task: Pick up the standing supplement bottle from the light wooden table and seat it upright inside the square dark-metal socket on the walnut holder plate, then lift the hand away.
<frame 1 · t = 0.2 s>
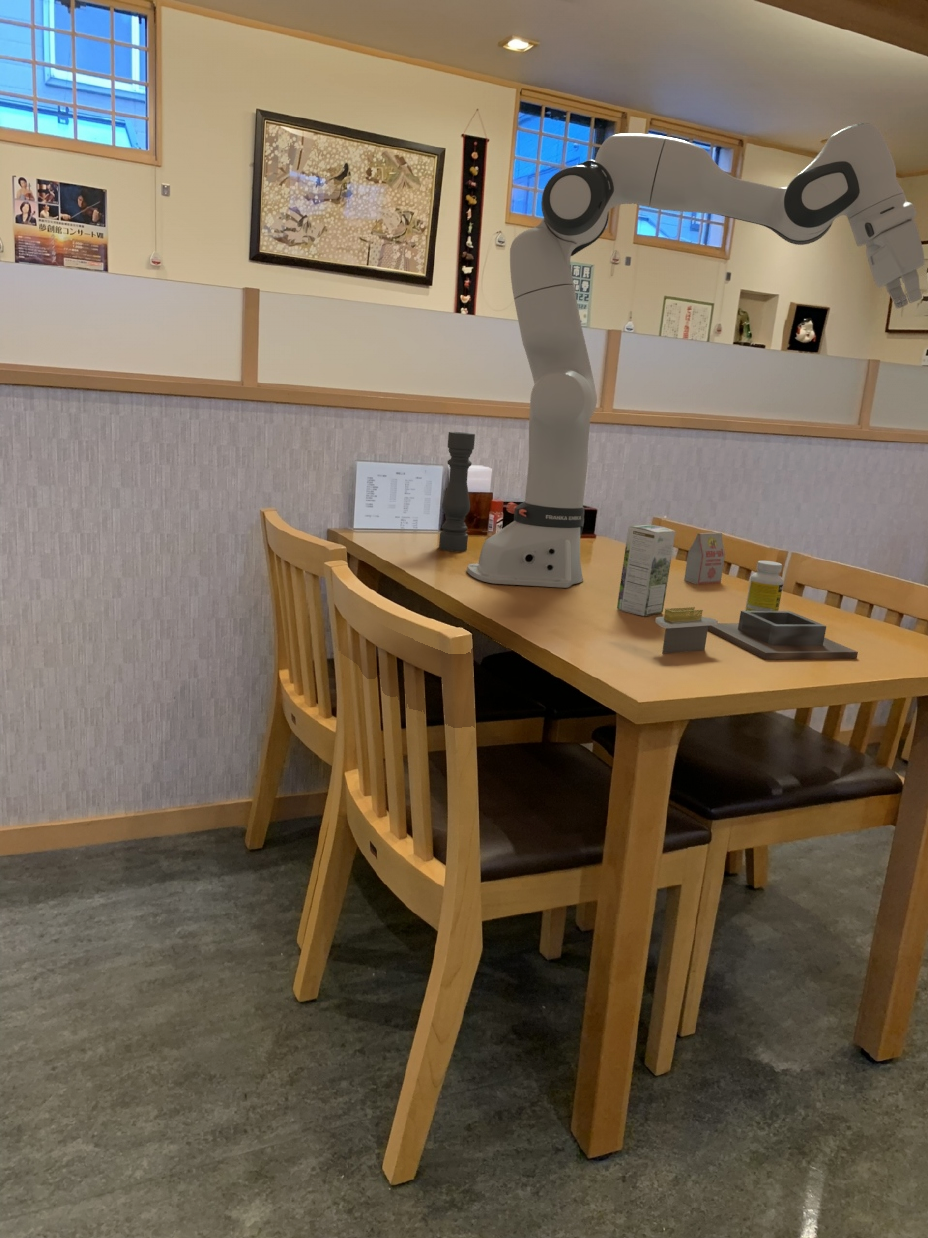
hand: (909, 304, 150), 54 cm above the table, tool tilted 30°, fingers open, 8 cm apart
syrup box: (640, 612, 152), on the table
supplement bottle: (760, 619, 154), on the table
dark gray baluster: (452, 549, 197), on the table
tea bag: (702, 582, 183), on the table
platform: (679, 654, 130), on the table
socket holder: (778, 643, 138), on the table
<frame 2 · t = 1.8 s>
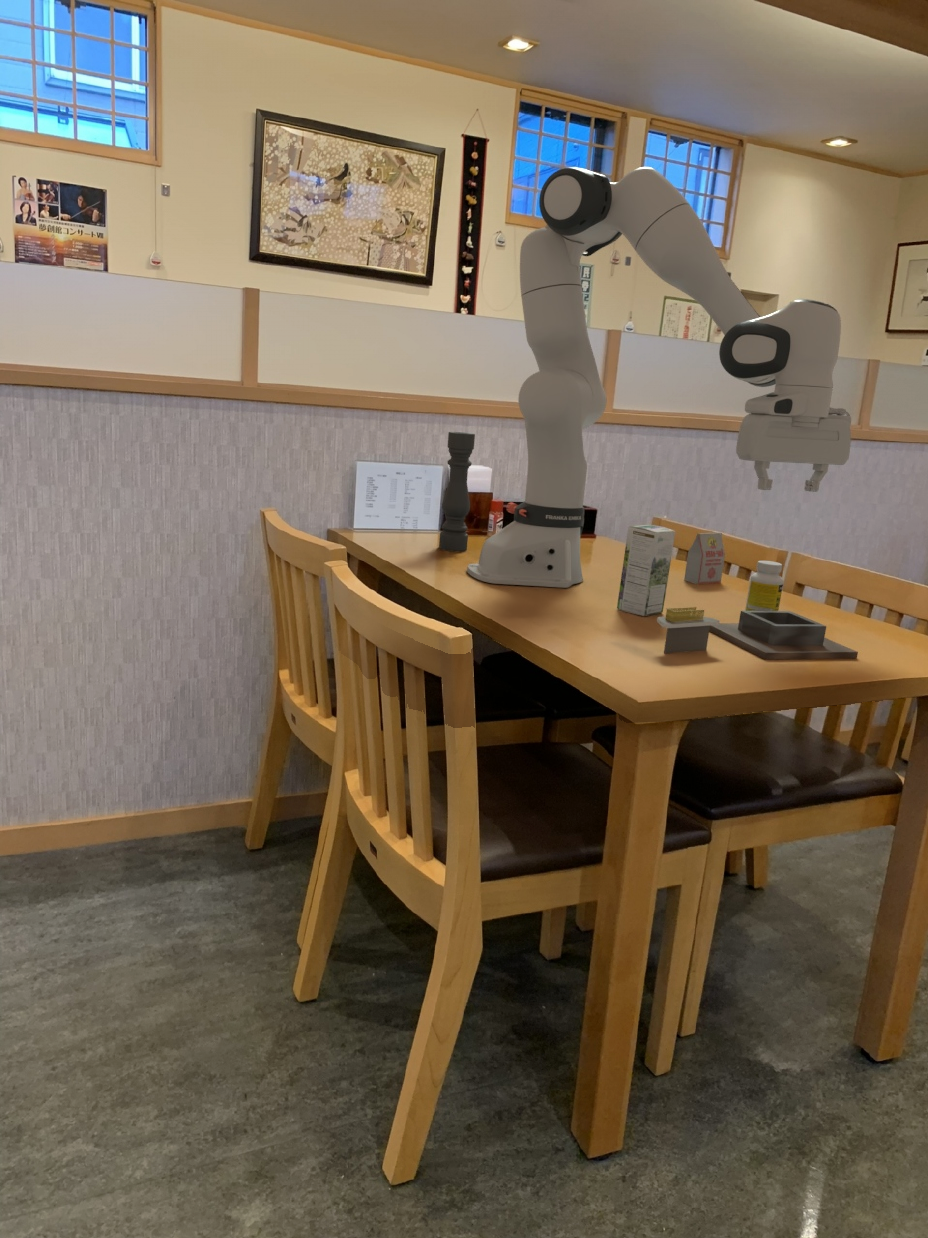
hand: (787, 490, 149), 22 cm above the table, tool pointing down, fingers open, 8 cm apart
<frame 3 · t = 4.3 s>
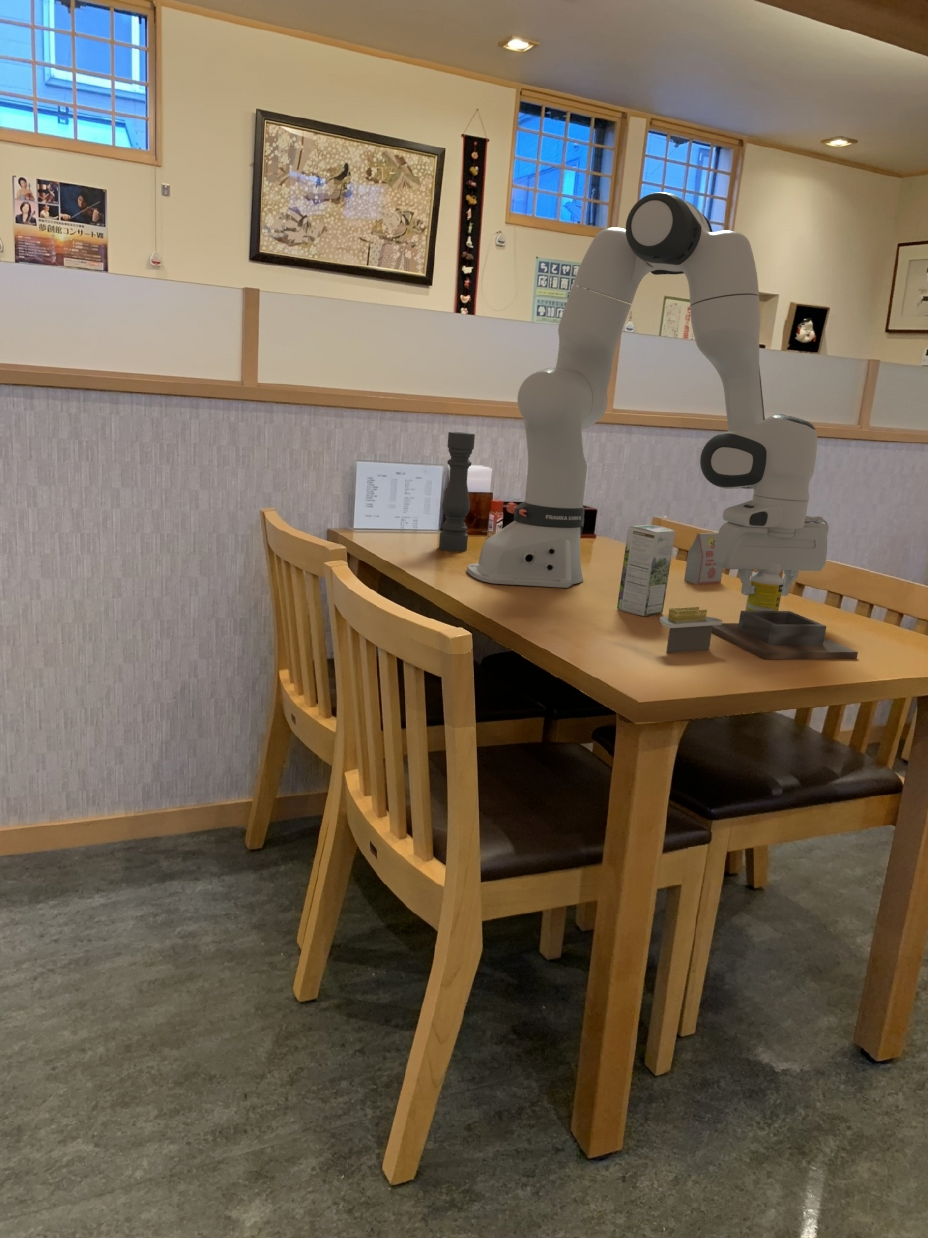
hand: (764, 594, 153), 4 cm above the table, tool pointing down, fingers closed on supplement bottle, 5 cm apart
supplement bottle: (760, 619, 154), on the table, touching gripper
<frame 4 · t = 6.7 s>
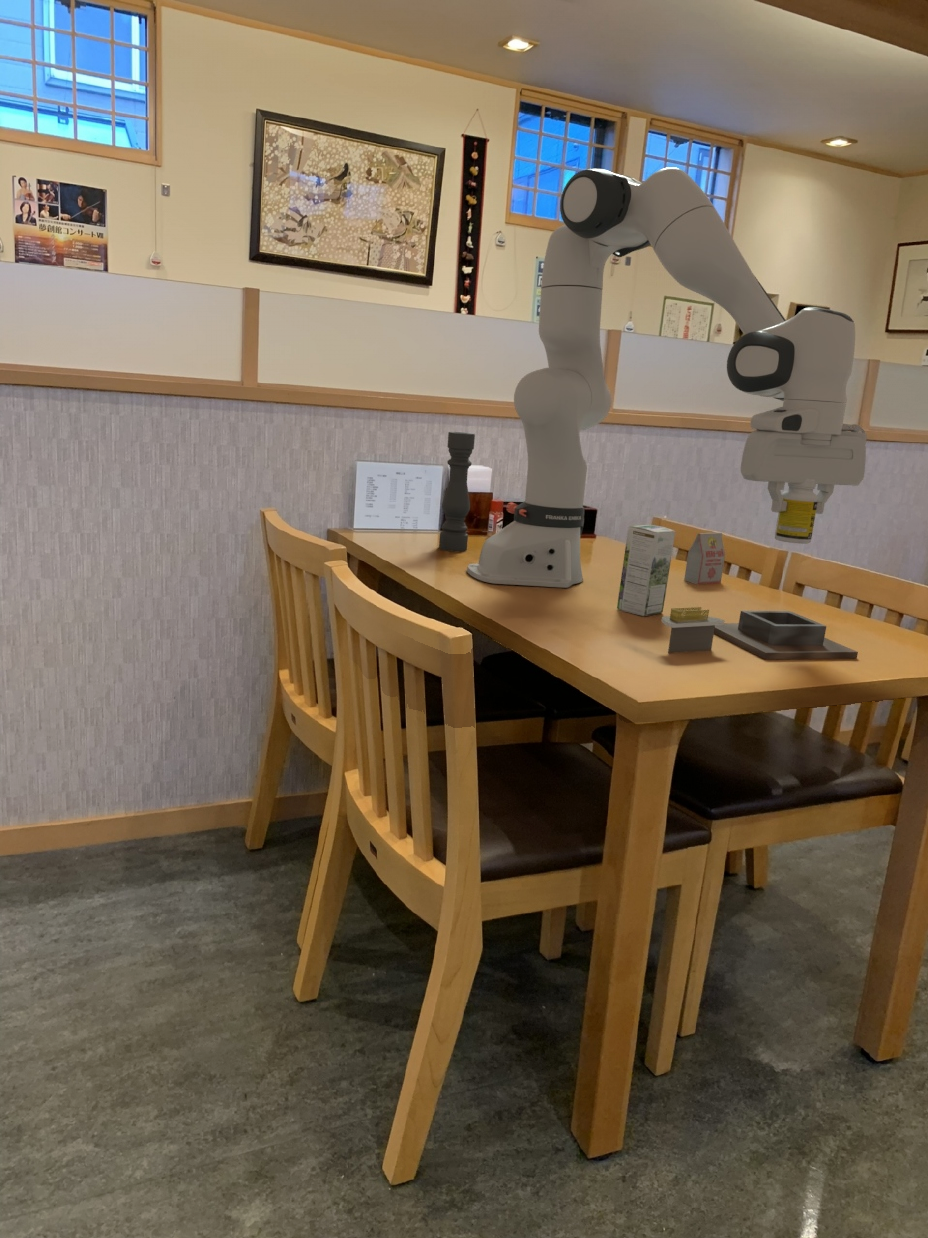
hand: (796, 512, 138), 20 cm above the table, tool pointing down, fingers closed on supplement bottle, 5 cm apart
supplement bottle: (792, 542, 139), point 15 cm above the table, touching gripper
platform: (685, 653, 131), on the table, touching socket holder
everything else where it was.
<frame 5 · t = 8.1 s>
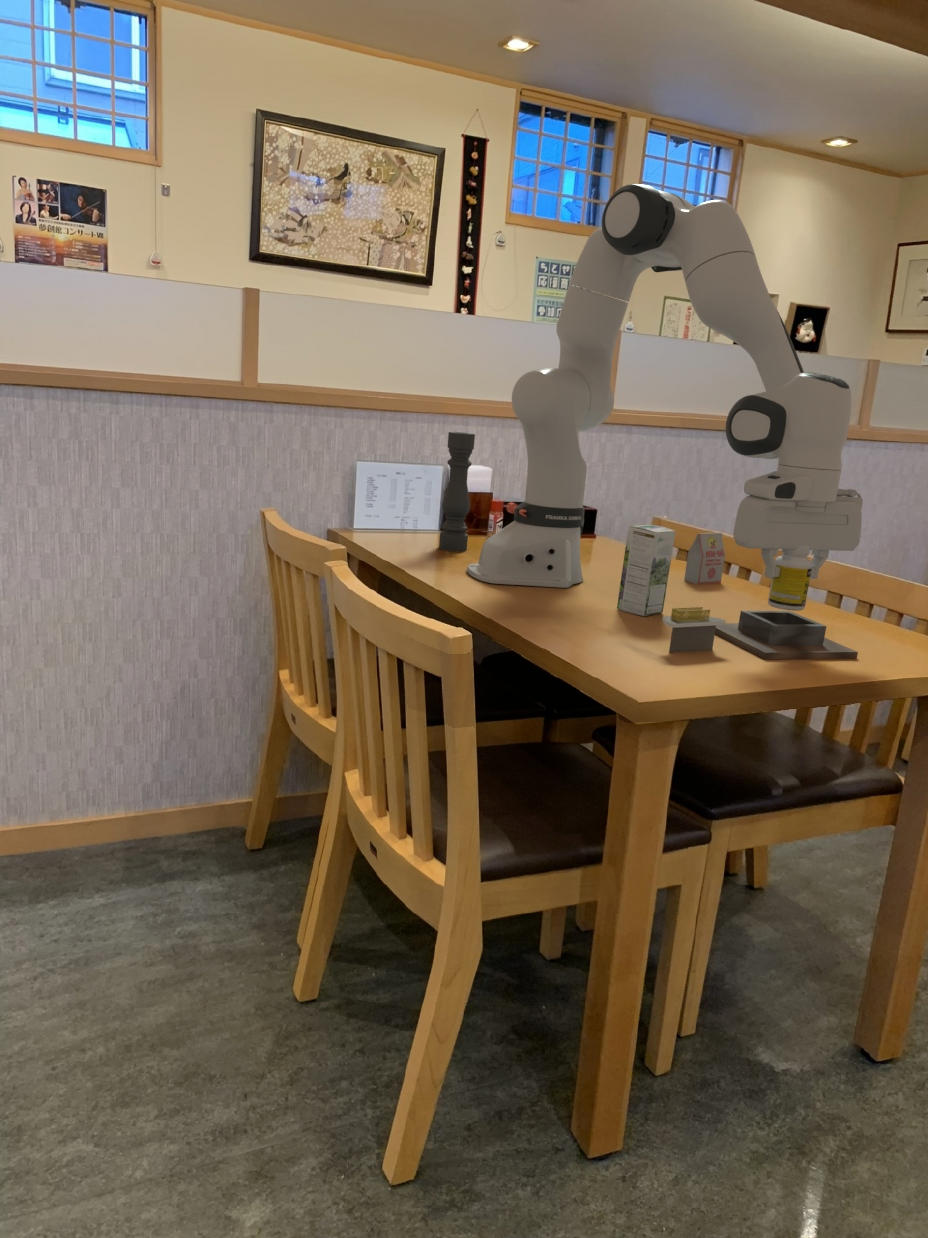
hand: (790, 578, 136), 10 cm above the table, tool pointing down, fingers closed on supplement bottle, 5 cm apart
supplement bottle: (785, 608, 137), point 6 cm above the table, touching gripper
platform: (686, 653, 131), on the table
everything else where it was.
when the fingers open (6 cm above the table, at t = 9.3 s): supplement bottle stays where it is, resting on socket holder.
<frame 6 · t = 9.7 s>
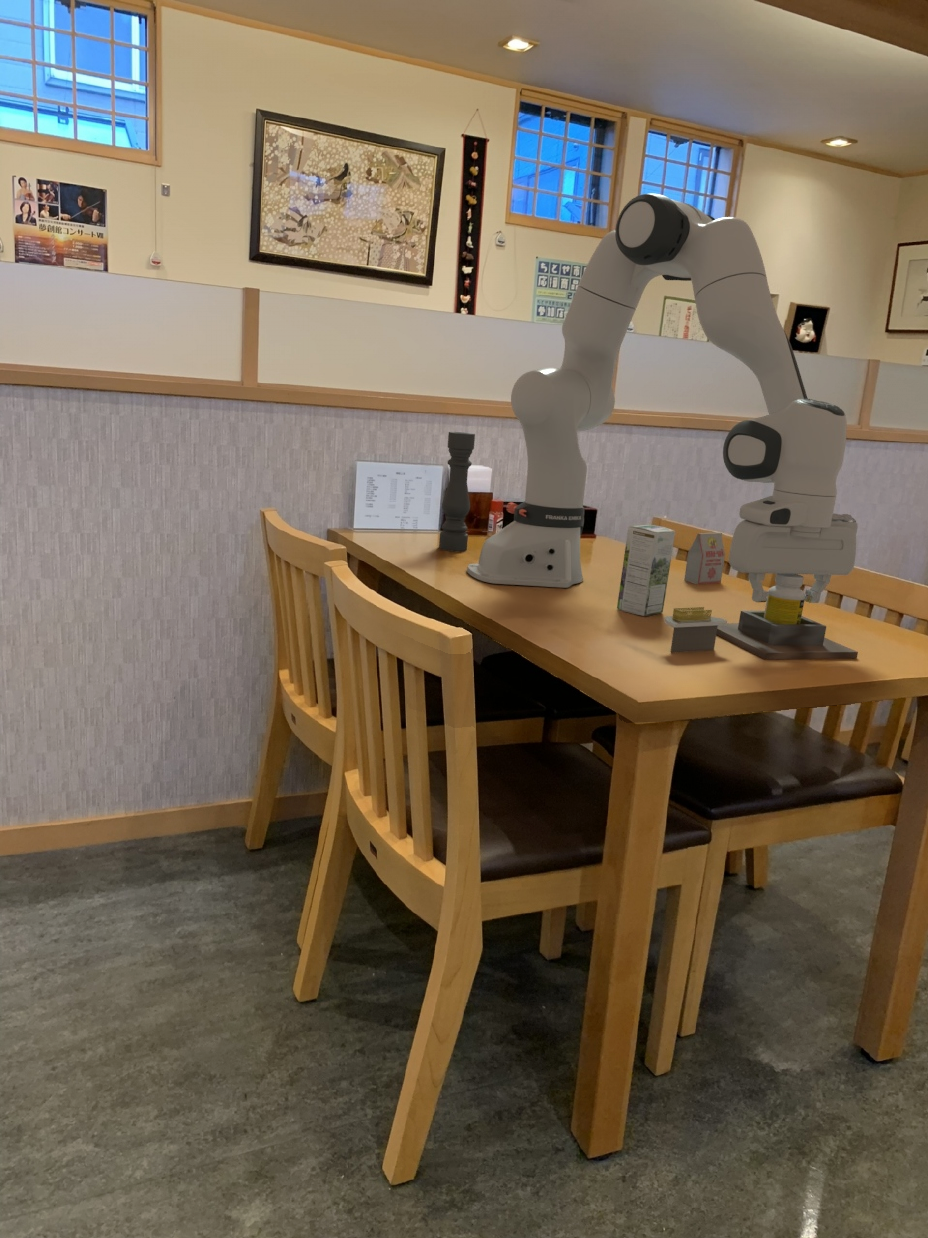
hand: (785, 601, 137), 7 cm above the table, tool pointing down, fingers open, 8 cm apart
supplement bottle: (778, 638, 138), point 1 cm above the table, touching socket holder
everything else where it was.
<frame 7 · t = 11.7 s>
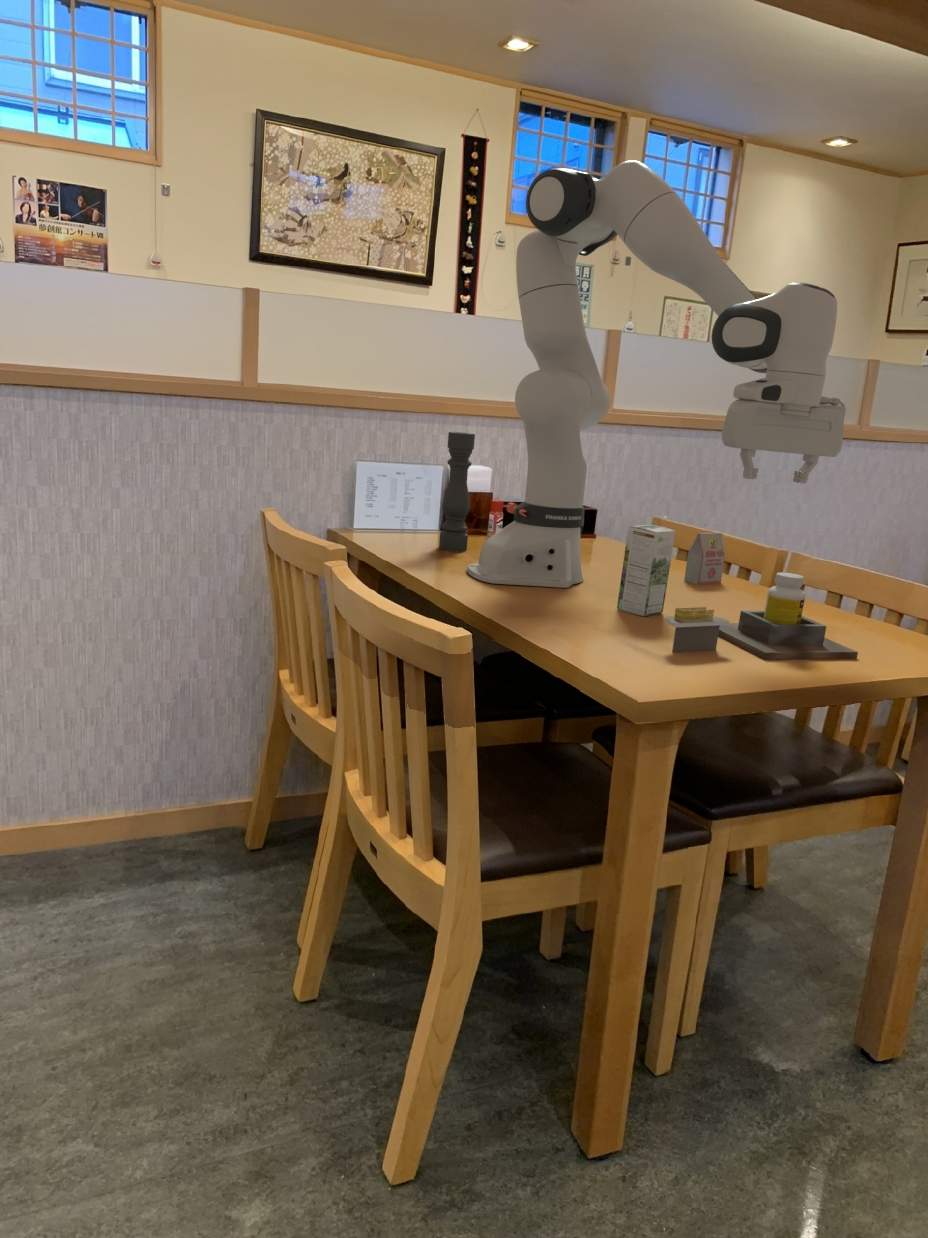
hand: (774, 480, 144), 24 cm above the table, tool pointing down, fingers open, 8 cm apart
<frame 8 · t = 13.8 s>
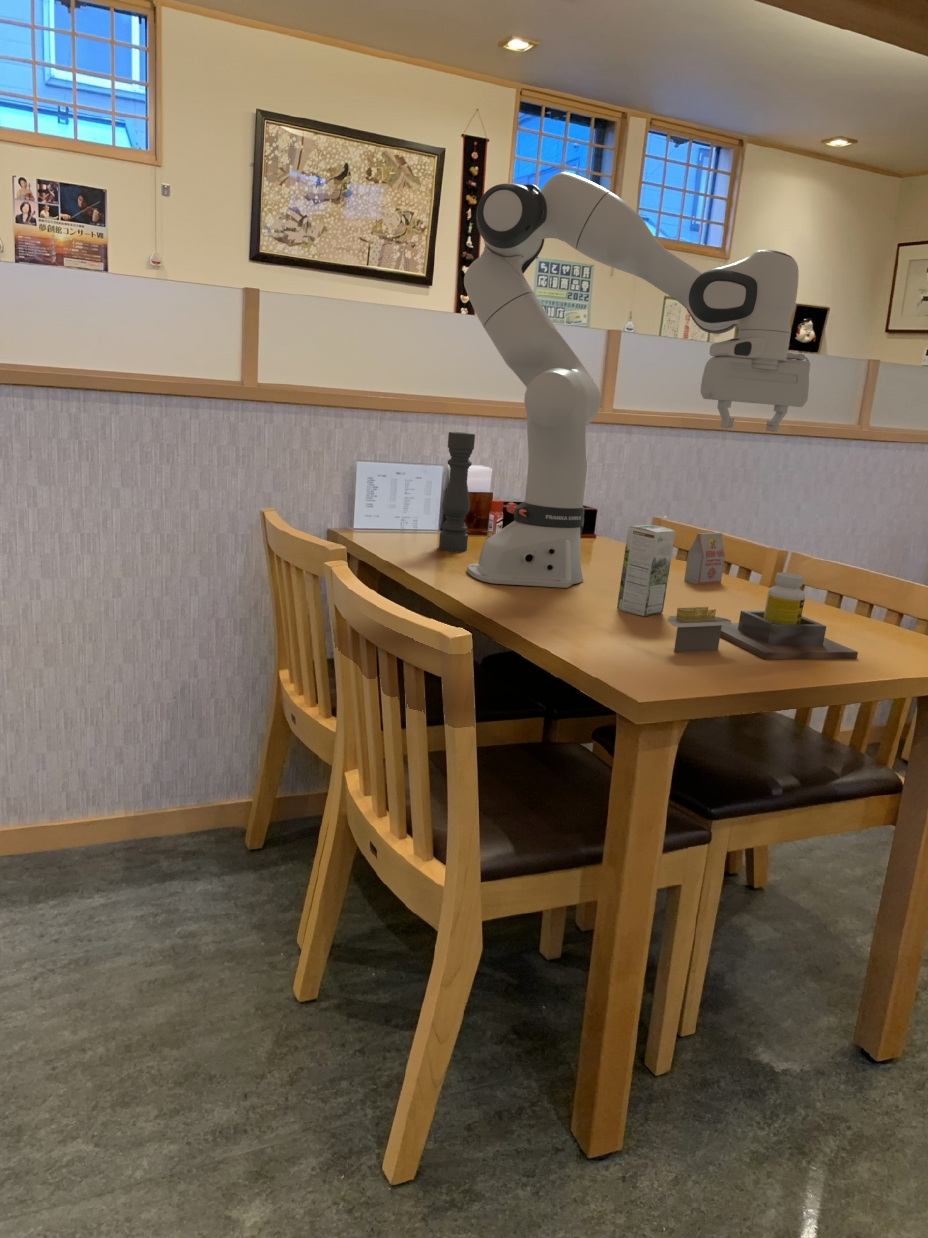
hand: (749, 429, 161), 31 cm above the table, tool pointing down, fingers open, 8 cm apart
at the end: supplement bottle 0.1 cm off-centre on the socket holder, point 0.8 cm above the socket holder's base; supplement bottle tilted 0°; the gripper is holding nothing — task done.
